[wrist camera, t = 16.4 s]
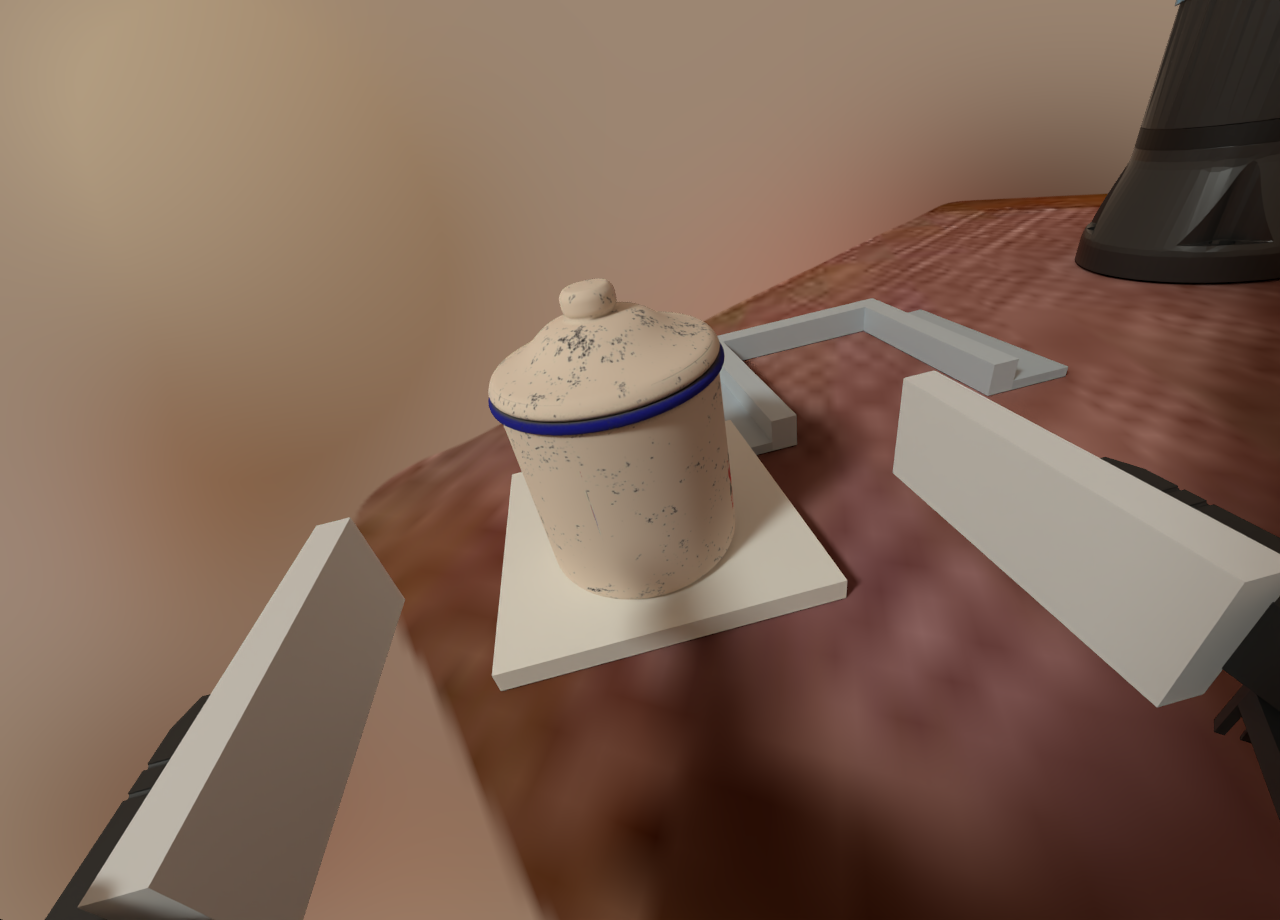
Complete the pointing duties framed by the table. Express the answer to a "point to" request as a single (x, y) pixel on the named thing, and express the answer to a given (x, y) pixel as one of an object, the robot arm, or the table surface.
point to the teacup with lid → (622, 442)
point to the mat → (617, 628)
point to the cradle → (913, 333)
